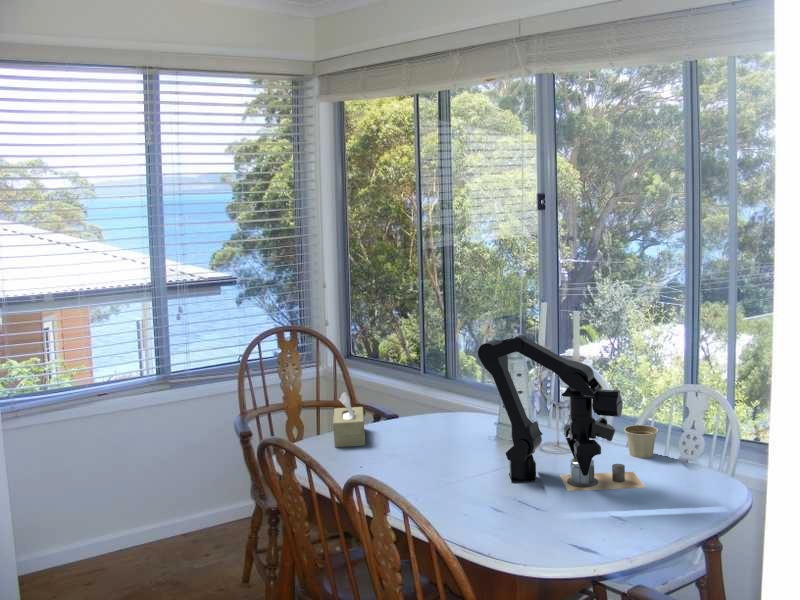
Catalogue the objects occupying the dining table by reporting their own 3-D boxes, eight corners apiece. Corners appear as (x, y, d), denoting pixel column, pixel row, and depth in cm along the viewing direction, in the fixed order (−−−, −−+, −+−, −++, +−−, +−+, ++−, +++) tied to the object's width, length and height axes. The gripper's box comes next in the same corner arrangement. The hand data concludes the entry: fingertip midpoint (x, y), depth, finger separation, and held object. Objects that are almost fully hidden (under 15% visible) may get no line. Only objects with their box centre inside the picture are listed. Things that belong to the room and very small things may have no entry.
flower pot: (660, 464, 235) (659, 434, 234) (625, 463, 237) (625, 434, 236) (656, 453, 244) (656, 424, 243) (623, 453, 246) (623, 424, 245)
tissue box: (335, 431, 284) (332, 385, 282) (364, 429, 284) (361, 384, 282) (334, 448, 265) (331, 399, 263) (365, 446, 266) (362, 397, 264)
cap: (573, 485, 218) (572, 462, 217) (569, 477, 224) (568, 455, 223) (596, 484, 218) (595, 461, 217) (591, 476, 224) (591, 454, 223)
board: (568, 495, 215) (567, 476, 214) (559, 479, 227) (559, 460, 226) (645, 491, 215) (645, 472, 214) (633, 475, 227) (633, 457, 226)
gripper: (620, 421, 209) (621, 481, 211) (603, 402, 227) (604, 457, 229) (576, 423, 209) (577, 483, 211) (562, 404, 228) (564, 459, 230)
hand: (582, 470), depth 220 cm, fingers open, 7 cm apart
